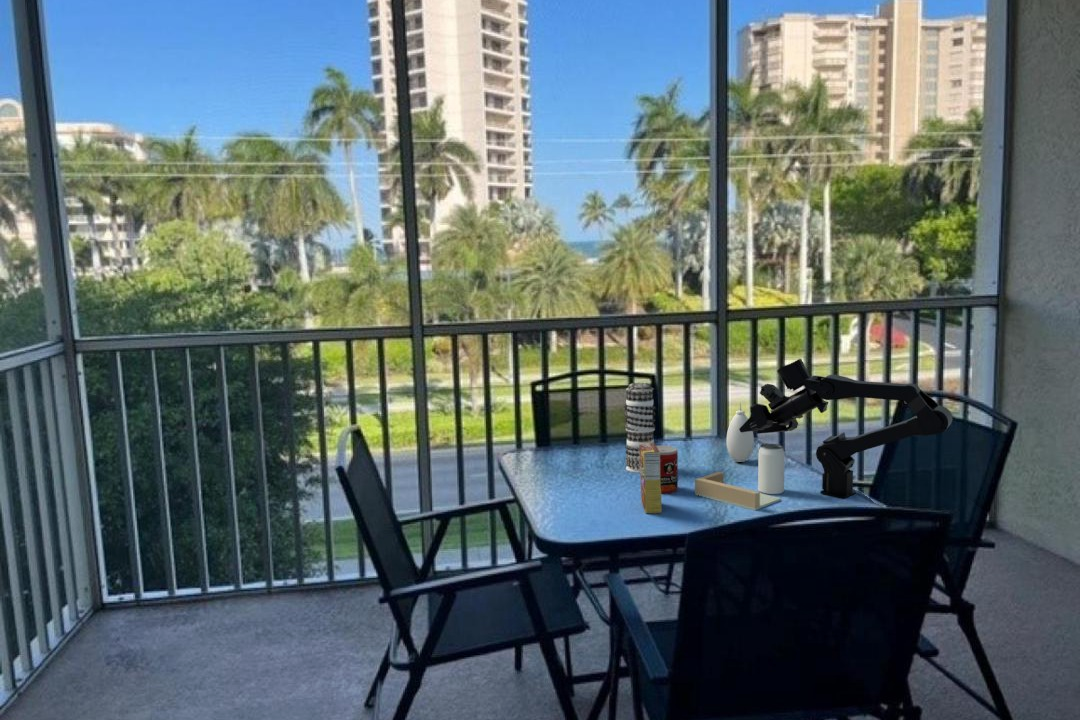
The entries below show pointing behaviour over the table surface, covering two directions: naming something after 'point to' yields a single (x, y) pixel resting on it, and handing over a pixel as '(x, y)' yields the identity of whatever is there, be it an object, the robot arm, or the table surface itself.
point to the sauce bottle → (739, 438)
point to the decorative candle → (638, 422)
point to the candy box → (650, 478)
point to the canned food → (668, 468)
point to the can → (771, 469)
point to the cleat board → (731, 493)
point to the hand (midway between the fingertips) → (748, 431)
